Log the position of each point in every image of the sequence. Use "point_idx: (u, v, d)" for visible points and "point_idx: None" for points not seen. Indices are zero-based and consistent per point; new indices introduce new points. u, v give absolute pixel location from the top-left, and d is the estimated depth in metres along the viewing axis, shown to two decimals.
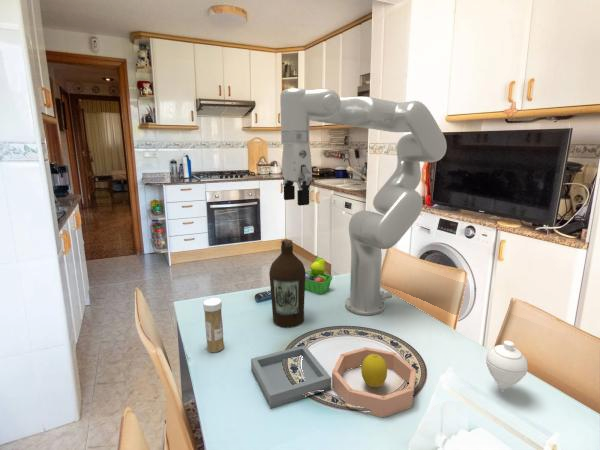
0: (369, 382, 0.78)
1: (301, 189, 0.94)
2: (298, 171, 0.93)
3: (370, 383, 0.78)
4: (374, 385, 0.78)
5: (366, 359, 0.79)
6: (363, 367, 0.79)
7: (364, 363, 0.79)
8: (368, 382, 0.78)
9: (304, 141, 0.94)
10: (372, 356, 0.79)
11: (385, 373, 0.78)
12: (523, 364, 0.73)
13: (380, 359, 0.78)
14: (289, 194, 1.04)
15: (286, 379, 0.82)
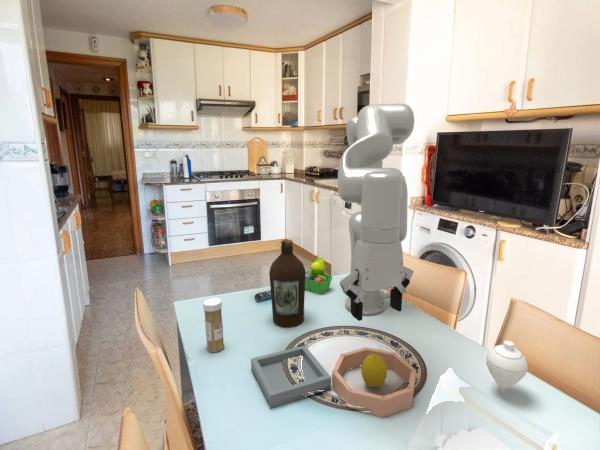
0: (369, 382, 0.78)
1: None
2: None
3: (370, 383, 0.78)
4: (374, 385, 0.78)
5: (366, 359, 0.79)
6: (363, 367, 0.79)
7: (364, 363, 0.79)
8: (368, 382, 0.78)
9: None
10: (372, 356, 0.79)
11: (385, 373, 0.78)
12: (523, 364, 0.73)
13: (380, 359, 0.78)
14: None
15: (286, 379, 0.82)
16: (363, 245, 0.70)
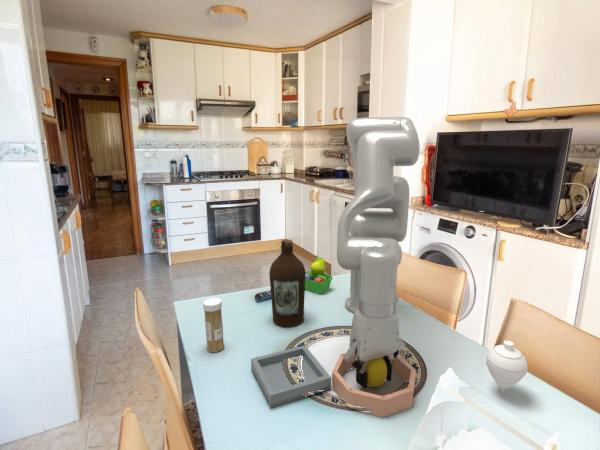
0: (369, 382, 0.78)
1: None
2: None
3: (370, 383, 0.78)
4: (374, 385, 0.78)
5: None
6: None
7: None
8: (368, 382, 0.78)
9: None
10: None
11: (385, 373, 0.78)
12: (523, 364, 0.73)
13: (380, 359, 0.78)
14: None
15: (286, 379, 0.82)
16: (361, 318, 0.74)
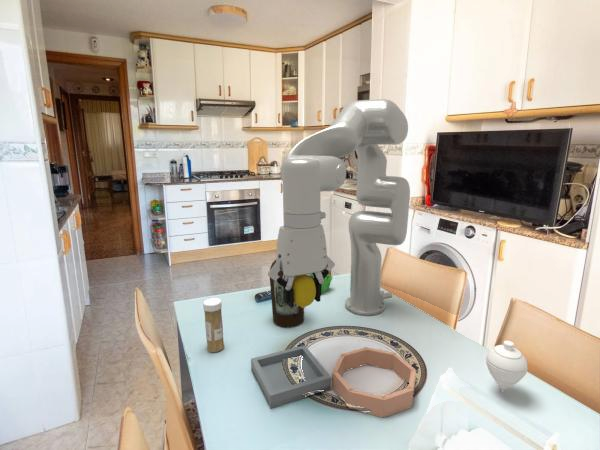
0: (296, 300, 0.76)
1: None
2: None
3: (297, 301, 0.76)
4: (301, 303, 0.76)
5: (294, 278, 0.77)
6: None
7: None
8: (295, 301, 0.76)
9: None
10: (300, 275, 0.77)
11: (313, 291, 0.76)
12: (523, 364, 0.73)
13: (308, 277, 0.76)
14: None
15: (286, 379, 0.82)
16: (284, 230, 0.72)
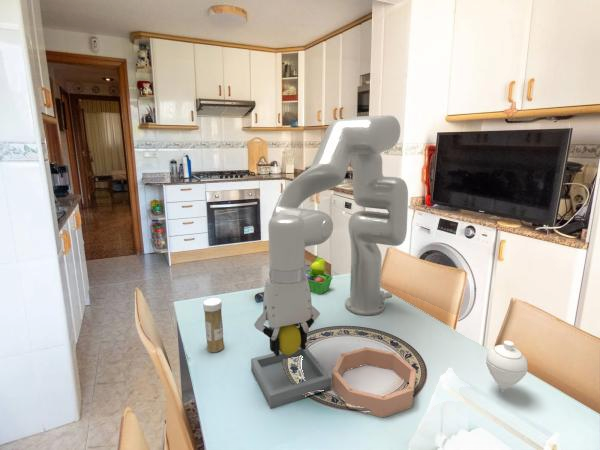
0: (281, 349, 0.79)
1: None
2: None
3: (282, 350, 0.79)
4: (286, 352, 0.79)
5: (280, 327, 0.80)
6: (277, 335, 0.80)
7: None
8: (281, 350, 0.79)
9: None
10: None
11: (298, 341, 0.79)
12: (523, 364, 0.73)
13: (293, 327, 0.79)
14: None
15: (286, 379, 0.82)
16: (269, 284, 0.75)
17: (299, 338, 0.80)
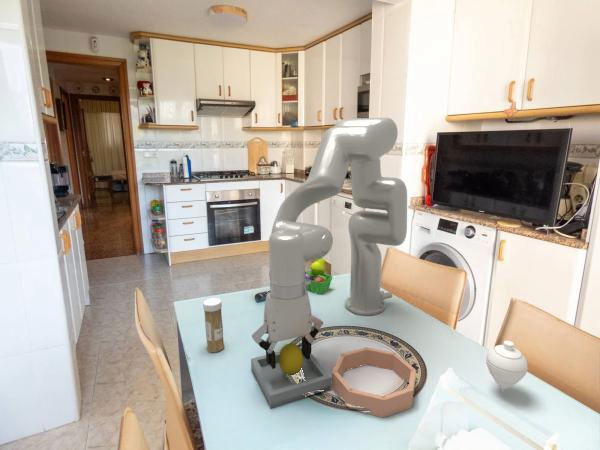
0: (284, 369, 0.80)
1: None
2: None
3: (285, 371, 0.80)
4: (289, 373, 0.81)
5: (282, 348, 0.82)
6: (279, 356, 0.81)
7: (280, 352, 0.81)
8: (283, 370, 0.81)
9: None
10: (288, 345, 0.81)
11: (300, 362, 0.81)
12: (523, 364, 0.73)
13: (295, 348, 0.81)
14: None
15: (286, 379, 0.82)
16: (270, 300, 0.76)
17: (301, 359, 0.81)
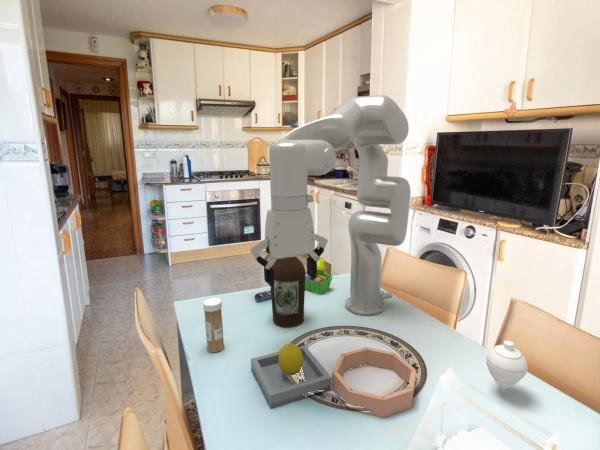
0: (284, 370, 0.80)
1: None
2: None
3: (285, 371, 0.81)
4: (289, 373, 0.81)
5: (282, 348, 0.82)
6: (279, 356, 0.81)
7: (280, 352, 0.81)
8: (283, 370, 0.81)
9: None
10: (288, 345, 0.81)
11: (300, 361, 0.81)
12: (523, 364, 0.73)
13: (295, 348, 0.81)
14: None
15: (286, 379, 0.82)
16: (271, 213, 0.73)
17: (301, 359, 0.81)
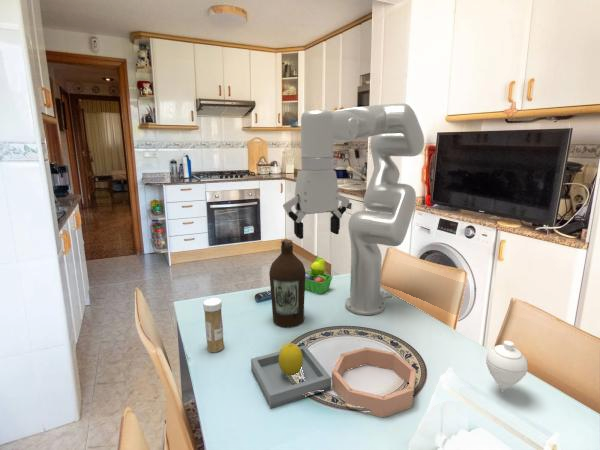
0: (284, 370, 0.80)
1: None
2: None
3: (285, 371, 0.81)
4: (289, 373, 0.81)
5: (282, 348, 0.82)
6: (279, 356, 0.81)
7: (280, 352, 0.81)
8: (283, 370, 0.81)
9: None
10: (288, 345, 0.81)
11: (300, 361, 0.81)
12: (523, 364, 0.73)
13: (295, 348, 0.81)
14: None
15: (286, 379, 0.82)
16: (302, 173, 0.84)
17: (301, 359, 0.81)
